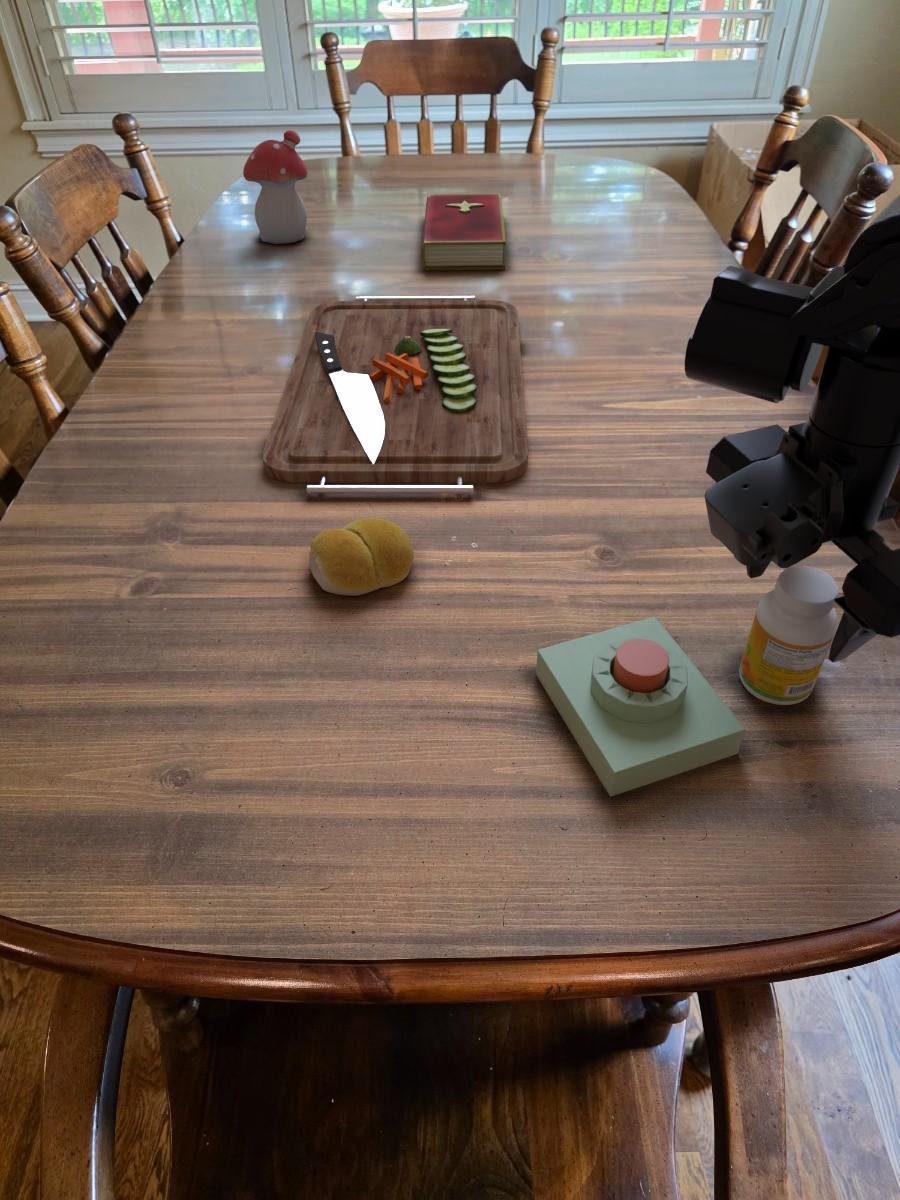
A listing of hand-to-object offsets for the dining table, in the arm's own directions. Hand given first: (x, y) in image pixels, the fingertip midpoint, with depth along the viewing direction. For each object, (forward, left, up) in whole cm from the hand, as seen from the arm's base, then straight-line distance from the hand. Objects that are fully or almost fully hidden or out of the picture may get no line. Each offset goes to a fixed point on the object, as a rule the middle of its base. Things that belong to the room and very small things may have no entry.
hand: (793, 615), depth 61 cm
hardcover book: (-11, -93, -7) cm, 94 cm away
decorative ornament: (+14, -106, -7) cm, 107 cm away
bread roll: (+25, -24, -7) cm, 36 cm away
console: (+11, -1, -7) cm, 13 cm away
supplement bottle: (0, 0, -7) cm, 7 cm away
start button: (+11, -1, -2) cm, 12 cm away
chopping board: (+11, -54, -7) cm, 56 cm away
